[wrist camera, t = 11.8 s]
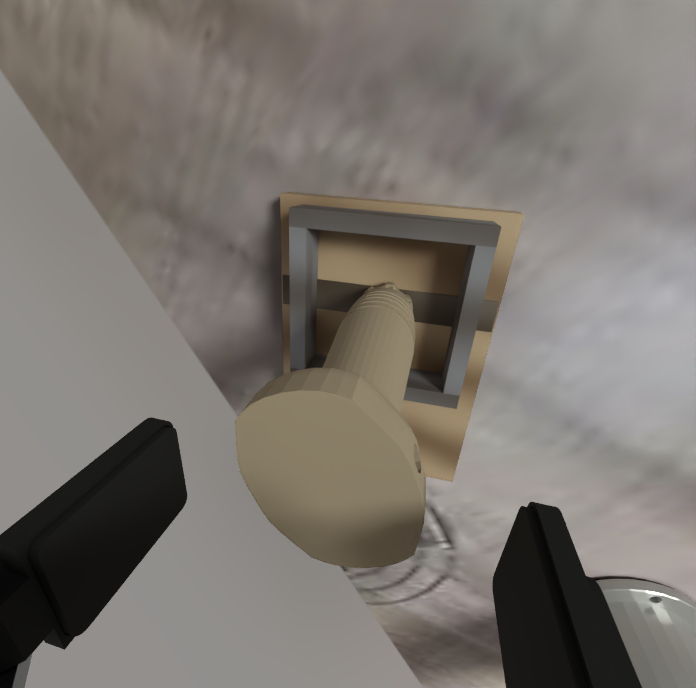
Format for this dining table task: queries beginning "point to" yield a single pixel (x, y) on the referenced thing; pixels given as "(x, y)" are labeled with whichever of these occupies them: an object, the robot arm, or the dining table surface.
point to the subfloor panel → (411, 279)
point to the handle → (342, 443)
